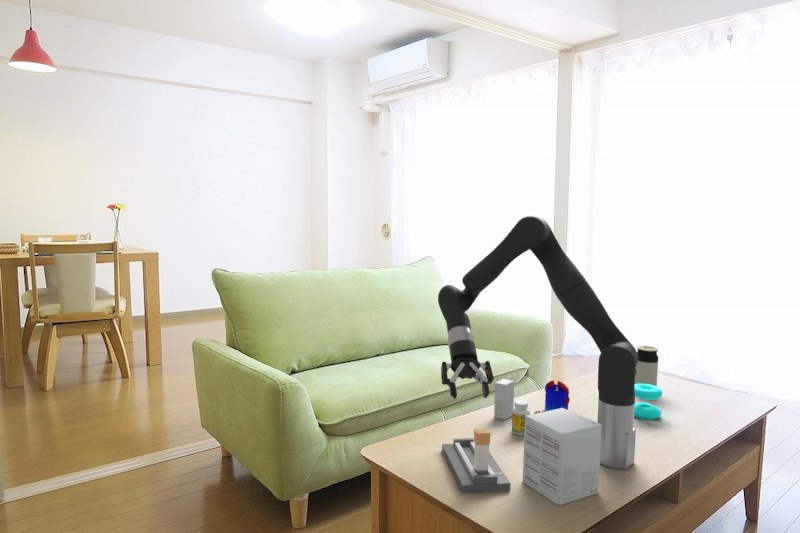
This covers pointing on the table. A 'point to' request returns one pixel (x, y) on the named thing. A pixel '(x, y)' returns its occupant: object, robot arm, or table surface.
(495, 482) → the grey rail track base
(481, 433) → the fader
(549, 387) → the fantasy tower
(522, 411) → the supplement bottle
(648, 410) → the donuts
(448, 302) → the robot arm
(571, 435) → the supplement box
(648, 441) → the table surface
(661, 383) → the table surface
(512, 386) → the skincare box
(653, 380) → the travel mug
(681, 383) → the table surface
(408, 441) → the table surface
